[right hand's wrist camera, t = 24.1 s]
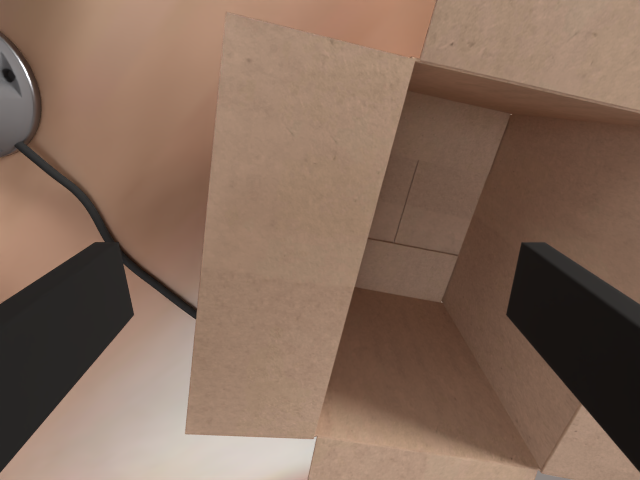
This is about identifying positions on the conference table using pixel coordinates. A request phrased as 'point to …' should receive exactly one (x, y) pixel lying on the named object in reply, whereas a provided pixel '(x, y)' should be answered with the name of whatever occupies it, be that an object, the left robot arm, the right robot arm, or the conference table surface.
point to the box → (414, 237)
